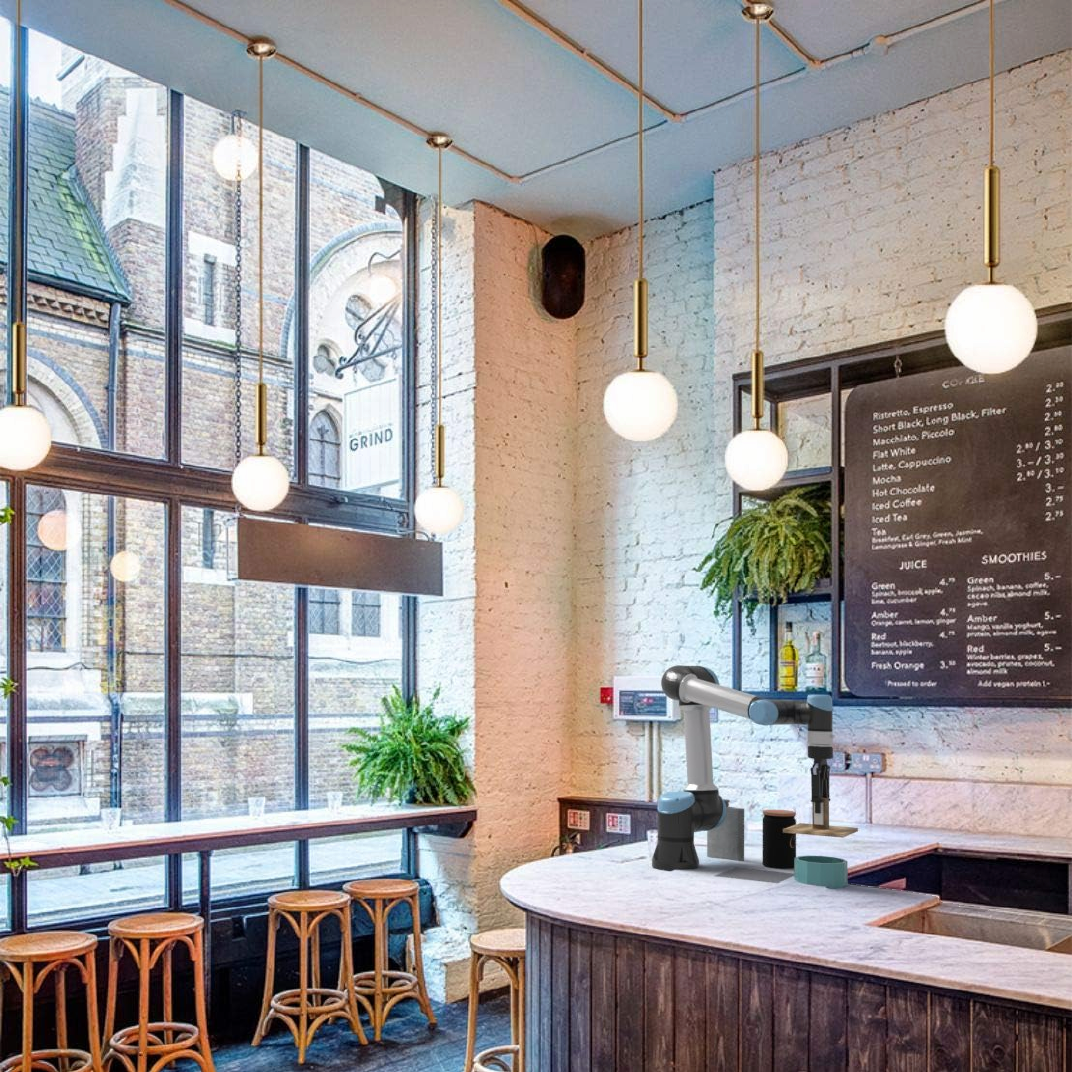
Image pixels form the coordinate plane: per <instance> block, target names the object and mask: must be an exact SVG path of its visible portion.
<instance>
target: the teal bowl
mask: <svg viewBox="0 0 1072 1072" xmlns="http://www.w3.org/2000/svg"><path fill="white" fill-rule="evenodd" d="M793 871H794V874H795V875H794V881H795V882H797V883H798V884H799V883H800V884H804V885H810V886H818V887H819V886H820V887H825V889H840V888H846V887H847V886H848V882H849V881H848V880H849V879H848V878H849V877H848V872H849V871H848V860H846V859H844V858H841V857H840V858H839V857H836V856H828V855H827V856H826V855H800V856H799V855H797V856H796V858H794V868H793Z"/></svg>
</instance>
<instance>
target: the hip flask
mask: <svg viewBox="0 0 1072 1072" xmlns="http://www.w3.org/2000/svg"><path fill="white" fill-rule="evenodd" d="M722 799H723V800H724V801H725V804H726V817H725V819H724V821H723V823H722V824H721V825H720V826H719V827H717V828H715V829H712V830H709V831H706V847H707V848H706V857H707V858H711V859H719V860H728V861H729V860H731V861H738V862H745V808H743V807H736V806H735V807H733V806H730V799H728V798H722Z"/></svg>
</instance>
